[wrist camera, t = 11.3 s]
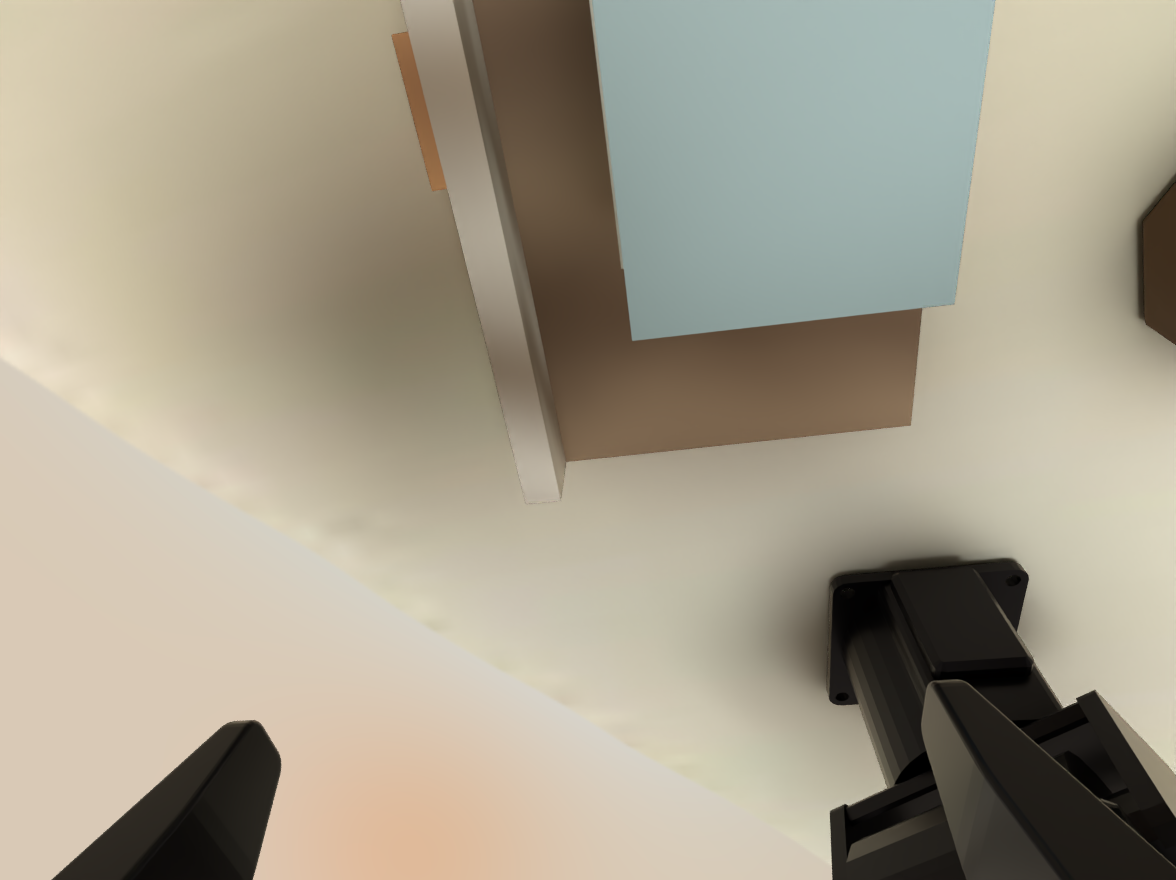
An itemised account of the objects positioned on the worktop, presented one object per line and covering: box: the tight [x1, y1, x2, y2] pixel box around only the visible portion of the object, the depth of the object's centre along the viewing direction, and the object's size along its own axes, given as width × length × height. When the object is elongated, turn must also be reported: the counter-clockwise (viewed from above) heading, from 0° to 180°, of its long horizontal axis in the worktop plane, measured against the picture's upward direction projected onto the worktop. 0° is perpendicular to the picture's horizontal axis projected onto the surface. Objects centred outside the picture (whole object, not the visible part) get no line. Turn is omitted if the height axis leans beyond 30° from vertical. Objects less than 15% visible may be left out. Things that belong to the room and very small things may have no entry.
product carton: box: [589, 0, 995, 341], centre depth 12 cm, size 5×6×8 cm
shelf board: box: [392, 0, 922, 504], centre depth 15 cm, size 20×11×4 cm, turn 9°
